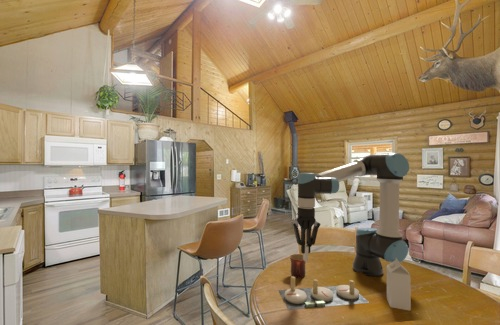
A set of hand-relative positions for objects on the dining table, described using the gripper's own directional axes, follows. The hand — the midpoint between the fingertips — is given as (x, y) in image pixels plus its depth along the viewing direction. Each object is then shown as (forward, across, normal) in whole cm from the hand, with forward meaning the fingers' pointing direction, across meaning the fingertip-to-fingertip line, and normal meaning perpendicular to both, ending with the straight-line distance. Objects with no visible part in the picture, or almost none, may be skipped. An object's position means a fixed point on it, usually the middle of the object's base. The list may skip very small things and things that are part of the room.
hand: (305, 260), depth 107 cm
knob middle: (+14, -6, +3) cm, 16 cm away
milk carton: (+16, -35, +14) cm, 40 cm away
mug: (+16, -3, -17) cm, 23 cm away
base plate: (+16, -6, +3) cm, 17 cm away
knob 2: (+14, -18, +3) cm, 23 cm away
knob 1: (+15, +6, +3) cm, 16 cm away
